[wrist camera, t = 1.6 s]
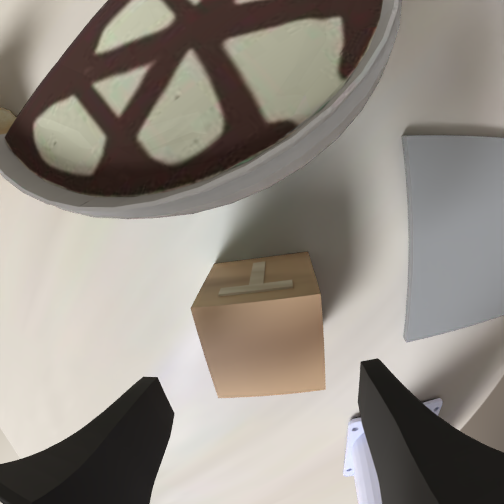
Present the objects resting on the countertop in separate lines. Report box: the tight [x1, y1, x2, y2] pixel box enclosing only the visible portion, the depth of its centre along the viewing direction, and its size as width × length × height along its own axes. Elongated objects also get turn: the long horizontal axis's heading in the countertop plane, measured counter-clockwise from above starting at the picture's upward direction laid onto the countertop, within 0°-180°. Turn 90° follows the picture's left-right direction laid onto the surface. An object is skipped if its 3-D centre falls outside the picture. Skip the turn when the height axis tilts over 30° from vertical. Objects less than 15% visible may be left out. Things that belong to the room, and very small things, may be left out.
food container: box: [0, 0, 402, 219], centre depth 9 cm, size 12×6×10 cm, turn 128°
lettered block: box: [191, 252, 325, 398], centre depth 14 cm, size 5×5×5 cm
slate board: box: [402, 135, 504, 342], centre depth 14 cm, size 12×11×1 cm
